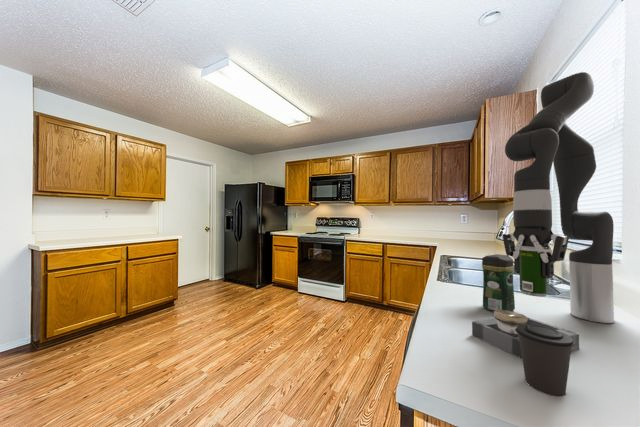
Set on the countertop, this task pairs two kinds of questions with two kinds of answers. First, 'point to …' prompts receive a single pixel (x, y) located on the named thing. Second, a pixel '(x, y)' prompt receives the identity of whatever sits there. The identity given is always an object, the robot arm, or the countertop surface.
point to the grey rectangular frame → (508, 343)
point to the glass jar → (509, 321)
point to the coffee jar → (498, 283)
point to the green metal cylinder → (531, 272)
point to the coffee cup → (545, 358)
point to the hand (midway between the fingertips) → (533, 275)
